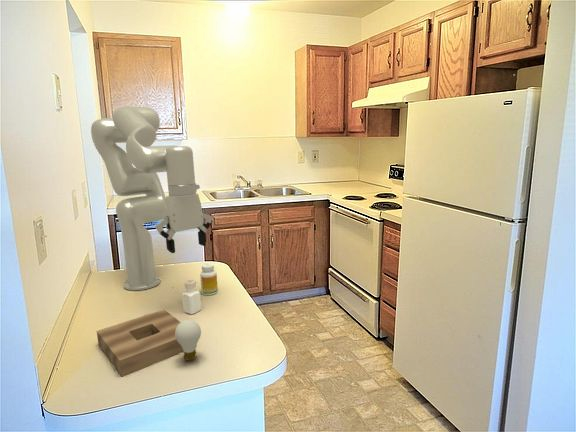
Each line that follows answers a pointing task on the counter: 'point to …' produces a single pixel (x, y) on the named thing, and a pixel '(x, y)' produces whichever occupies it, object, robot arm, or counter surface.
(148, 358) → the socket block
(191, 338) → the light bulb
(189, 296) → the pepper shaker
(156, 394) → the counter surface
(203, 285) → the supplement bottle
